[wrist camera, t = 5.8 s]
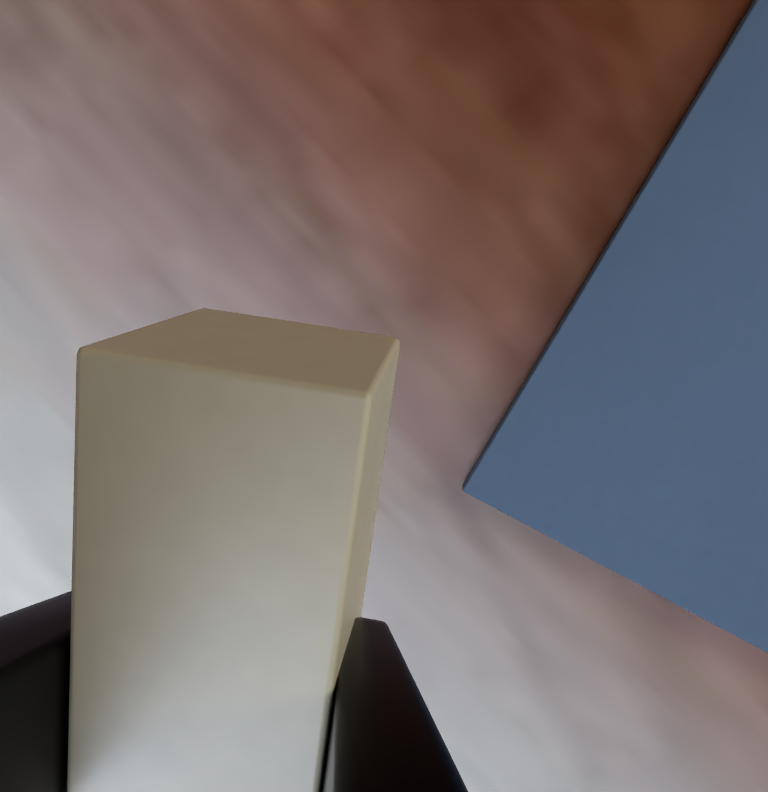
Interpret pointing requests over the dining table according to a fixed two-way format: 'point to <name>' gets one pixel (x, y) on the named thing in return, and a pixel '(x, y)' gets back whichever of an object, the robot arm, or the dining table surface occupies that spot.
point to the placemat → (665, 373)
